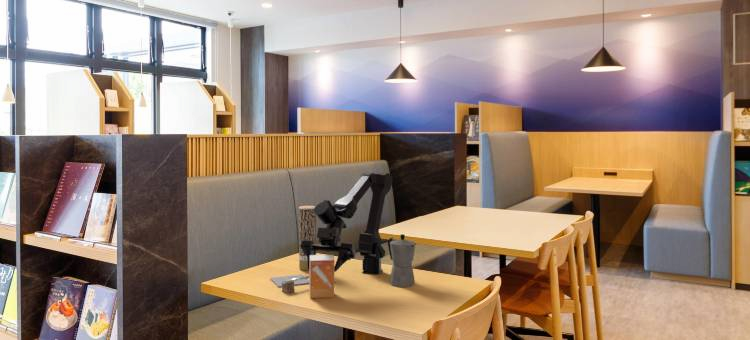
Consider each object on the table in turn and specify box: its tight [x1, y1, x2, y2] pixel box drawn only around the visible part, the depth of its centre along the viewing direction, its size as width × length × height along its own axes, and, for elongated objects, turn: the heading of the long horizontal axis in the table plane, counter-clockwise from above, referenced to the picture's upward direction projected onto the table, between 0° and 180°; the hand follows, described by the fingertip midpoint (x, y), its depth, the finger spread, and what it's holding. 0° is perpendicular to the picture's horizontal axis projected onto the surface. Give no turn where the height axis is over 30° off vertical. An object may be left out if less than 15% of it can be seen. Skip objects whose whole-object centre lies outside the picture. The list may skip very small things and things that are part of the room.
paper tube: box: [298, 205, 317, 272], centre depth 215 cm, size 7×7×25 cm
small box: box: [309, 254, 335, 299], centre depth 180 cm, size 8×6×13 cm
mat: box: [270, 274, 310, 288], centre depth 198 cm, size 12×12×1 cm
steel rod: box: [282, 275, 310, 284], centre depth 189 cm, size 16×1×1 cm, turn 132°
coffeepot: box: [387, 233, 416, 288], centre depth 195 cm, size 15×9×18 cm, turn 33°
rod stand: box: [281, 281, 295, 294], centre depth 189 cm, size 15×3×3 cm, turn 132°
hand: (321, 270), depth 180 cm, fingers open, 9 cm apart
